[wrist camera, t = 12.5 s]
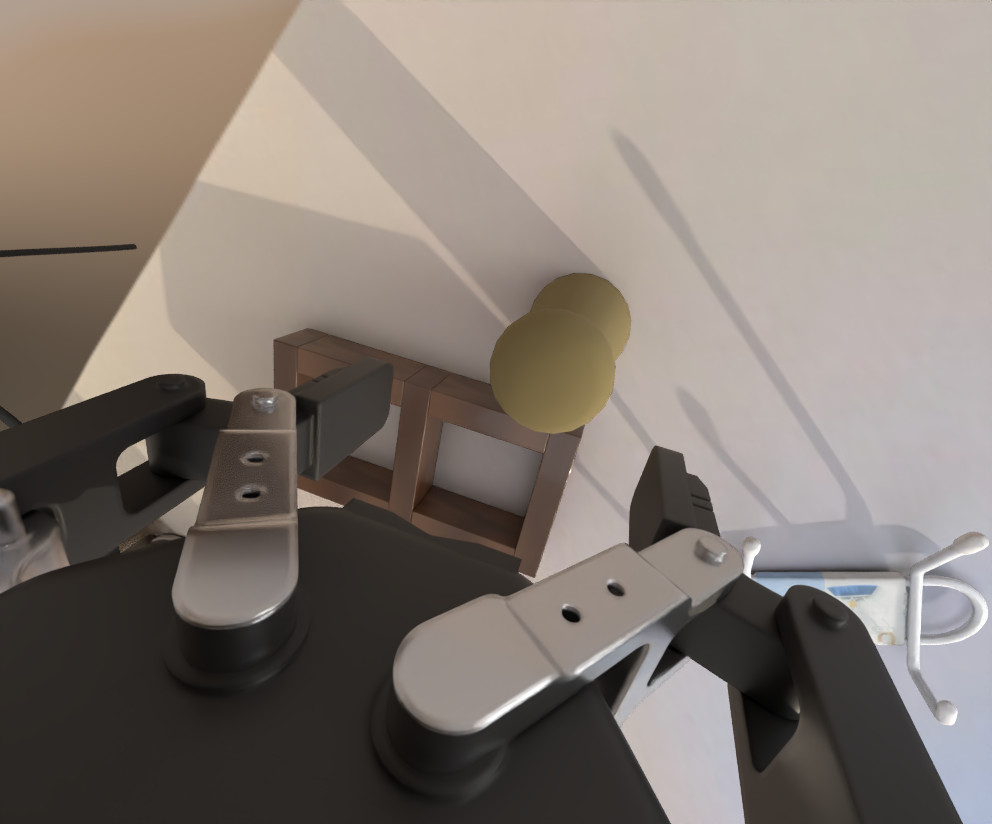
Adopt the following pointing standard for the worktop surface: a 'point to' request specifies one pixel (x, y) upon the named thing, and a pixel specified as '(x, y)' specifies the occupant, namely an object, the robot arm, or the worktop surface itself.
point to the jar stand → (433, 449)
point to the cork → (561, 355)
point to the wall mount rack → (891, 604)
